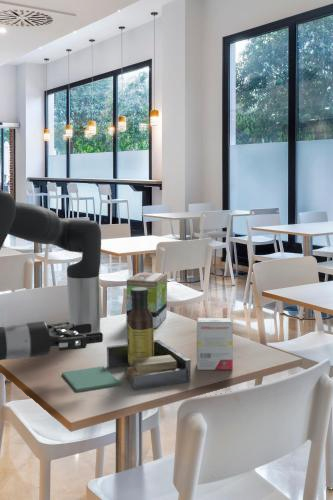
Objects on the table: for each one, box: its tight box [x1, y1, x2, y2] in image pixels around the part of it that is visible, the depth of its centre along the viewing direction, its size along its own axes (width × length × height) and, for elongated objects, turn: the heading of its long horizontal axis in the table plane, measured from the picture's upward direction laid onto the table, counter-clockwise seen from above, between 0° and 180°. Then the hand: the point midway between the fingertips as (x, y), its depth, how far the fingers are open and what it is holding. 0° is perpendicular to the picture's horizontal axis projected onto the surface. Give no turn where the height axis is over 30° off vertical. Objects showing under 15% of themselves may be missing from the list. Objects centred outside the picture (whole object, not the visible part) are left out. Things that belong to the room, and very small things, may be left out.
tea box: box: [125, 272, 168, 329], centre depth 187 cm, size 15×10×15 cm, turn 168°
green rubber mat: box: [61, 366, 121, 393], centre depth 136 cm, size 12×10×1 cm
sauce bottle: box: [126, 287, 155, 367], centre depth 142 cm, size 6×6×20 cm
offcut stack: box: [125, 355, 177, 385], centre depth 136 cm, size 6×11×4 cm, turn 115°
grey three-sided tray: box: [106, 339, 192, 392], centre depth 140 cm, size 18×14×5 cm
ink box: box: [196, 317, 234, 371], centre depth 144 cm, size 9×5×12 cm, turn 88°
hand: (96, 332), depth 137 cm, fingers open, 8 cm apart
